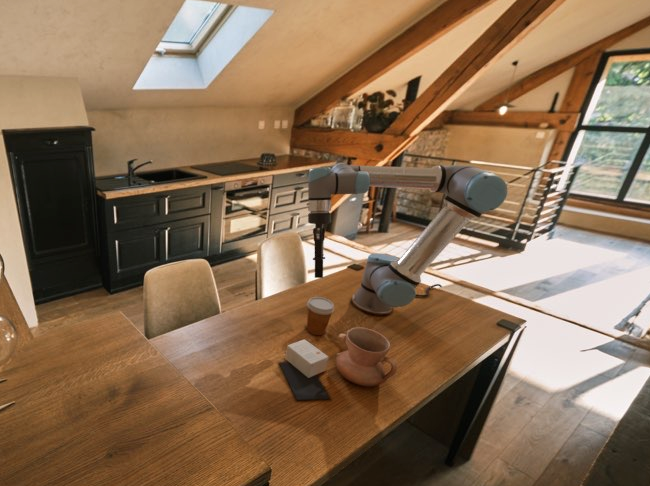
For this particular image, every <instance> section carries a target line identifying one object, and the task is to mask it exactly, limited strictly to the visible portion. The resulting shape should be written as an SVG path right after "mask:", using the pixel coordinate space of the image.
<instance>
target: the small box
mask: <svg viewBox="0 0 650 486" xmlns="http://www.w3.org/2000/svg"><path fill="white" fill-rule="evenodd" d="M329 359H330V358H329V356H328V355H327V354H326V353H324V352H323V351H322V350H320V349H319V348H317V347H316V346H315V345H313V344H312V343H311V342H309V341H307V340H306V339H301V340H299V341H295V342H293V343H291V344H288V345H287V347H286V353H285V360H286V361H287V362H290V363H291V364H292V365H293V366H294V367H296V368H297V369H298V370H299V371H300V372H302V373H303V374H304V375H305V376H307V377H308V378H310V377H312V376H314V375H317V376H318V374H322V373H323V372H326V370H327V366H328V362H329Z"/></svg>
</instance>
